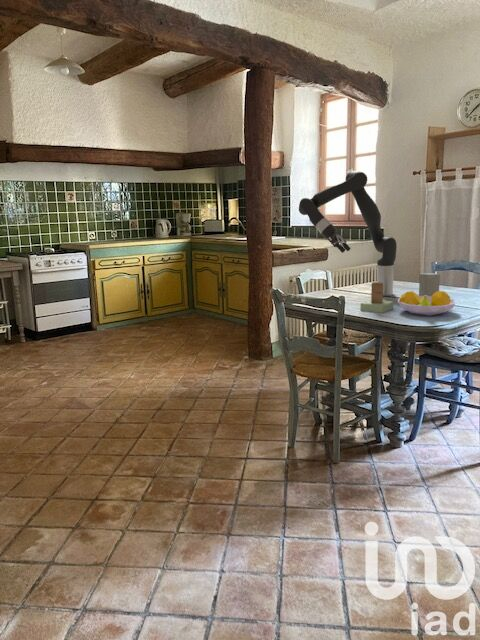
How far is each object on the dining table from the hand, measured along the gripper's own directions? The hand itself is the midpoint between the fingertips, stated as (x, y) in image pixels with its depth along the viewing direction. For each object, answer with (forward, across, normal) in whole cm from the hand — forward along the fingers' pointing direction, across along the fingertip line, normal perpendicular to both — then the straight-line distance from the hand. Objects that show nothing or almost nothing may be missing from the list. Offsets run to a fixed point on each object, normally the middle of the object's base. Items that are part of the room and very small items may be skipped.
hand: (346, 250), depth 267 cm
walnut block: (+31, -6, +5) cm, 32 cm away
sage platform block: (+33, -5, +8) cm, 35 cm away
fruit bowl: (+50, -6, -9) cm, 51 cm away
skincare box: (+48, +19, -7) cm, 52 cm away
